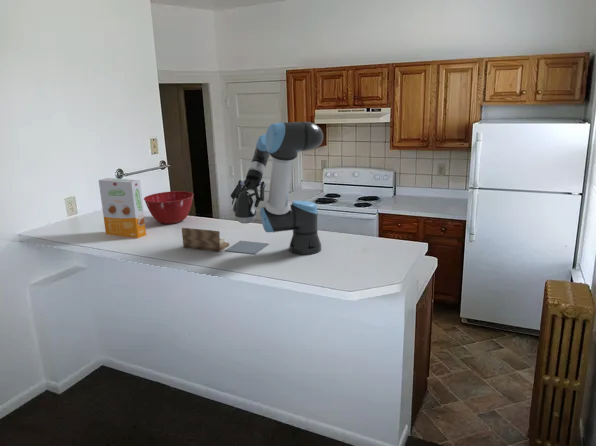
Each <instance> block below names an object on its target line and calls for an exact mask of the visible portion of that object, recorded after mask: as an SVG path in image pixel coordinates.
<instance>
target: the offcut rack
mask: <svg viewBox="0 0 596 446" xmlns="http://www.w3.org/2000/svg"><path fill="white" fill-rule="evenodd" d="M181 236H182V246H183V249H189V248H191V250H197V249H199V250H200V251H205V252H206V251H207V252H215V253H216V252H217V253H220V252H222V251H223V250H226V249H227V248H229V247H230V242H226V241H225V240H226V239H225V238H220V237H221V232H220V231H219V230H211V229H199V228H190V227H182V228H181Z"/></svg>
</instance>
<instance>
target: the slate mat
mask: <svg viewBox="0 0 596 446" xmlns="http://www.w3.org/2000/svg"><path fill="white" fill-rule="evenodd" d="M269 245H270V243H267V242H257V241H249V240H248V241H247V240H239V241H238V242H236V243H234V244H233V245H231V246H228V247H227V248H225V249H224V252H230V253H239V254H247V255H248V254H249V255H256V254H257V253H259V252H261V251H262V250H263V249H265V248H266V247H267V246H269Z"/></svg>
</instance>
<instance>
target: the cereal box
mask: <svg viewBox="0 0 596 446" xmlns="http://www.w3.org/2000/svg"><path fill="white" fill-rule="evenodd" d="M141 185H142V184H141V179H127V178H126V179H125V178H113V177H112V178H111V177H107V178H102V179H101V178H100V179H98V187H99V193H100V200H101V207H102V215H103V221H104V229H105V235H110V236H117V237H125V238H132V239H133V238H134V239H140V238H142V237H145V236H147V232H146V231H147V230H146V229H147V228H146V222H145V212H144V206H143V205H144V204H143V196H142V187H141Z"/></svg>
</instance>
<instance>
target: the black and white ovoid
mask: <svg viewBox="0 0 596 446" xmlns="http://www.w3.org/2000/svg"><path fill="white" fill-rule="evenodd" d="M254 196H255V192H253V193H250V192H249V191H248V190H247V191H242V192H241V193H240V194H239V196H238V198H237V201H236V205H235V212H234V216H235V218H236V221H238V223H240V224H246V225H247V224H250V223H252V222H254V221H255V219H256V216H257V208H256V209H255V212H254V214H252V212H251V208H252V205H253V202H254V198H253V197H254Z"/></svg>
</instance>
